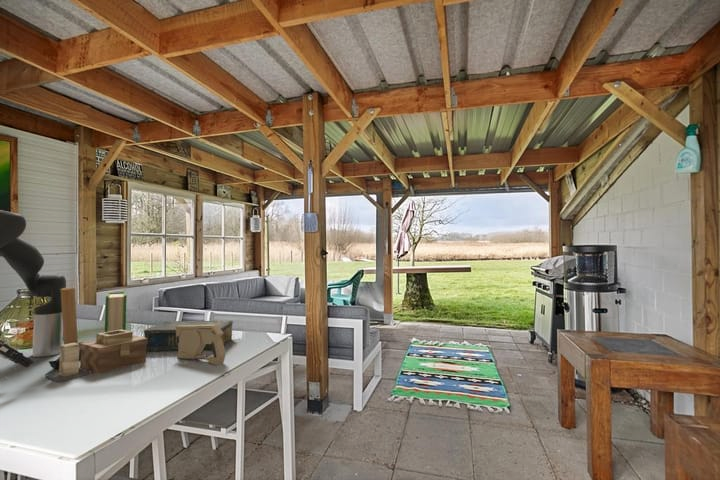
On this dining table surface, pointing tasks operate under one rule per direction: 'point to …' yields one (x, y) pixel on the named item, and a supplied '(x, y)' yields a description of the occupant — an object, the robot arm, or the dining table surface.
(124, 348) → the stacked wooden tiers
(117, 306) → the hardback book
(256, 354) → the dining table surface
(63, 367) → the wooden block
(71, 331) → the hammer
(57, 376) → the rubber mat
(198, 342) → the gun
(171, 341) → the metal box
